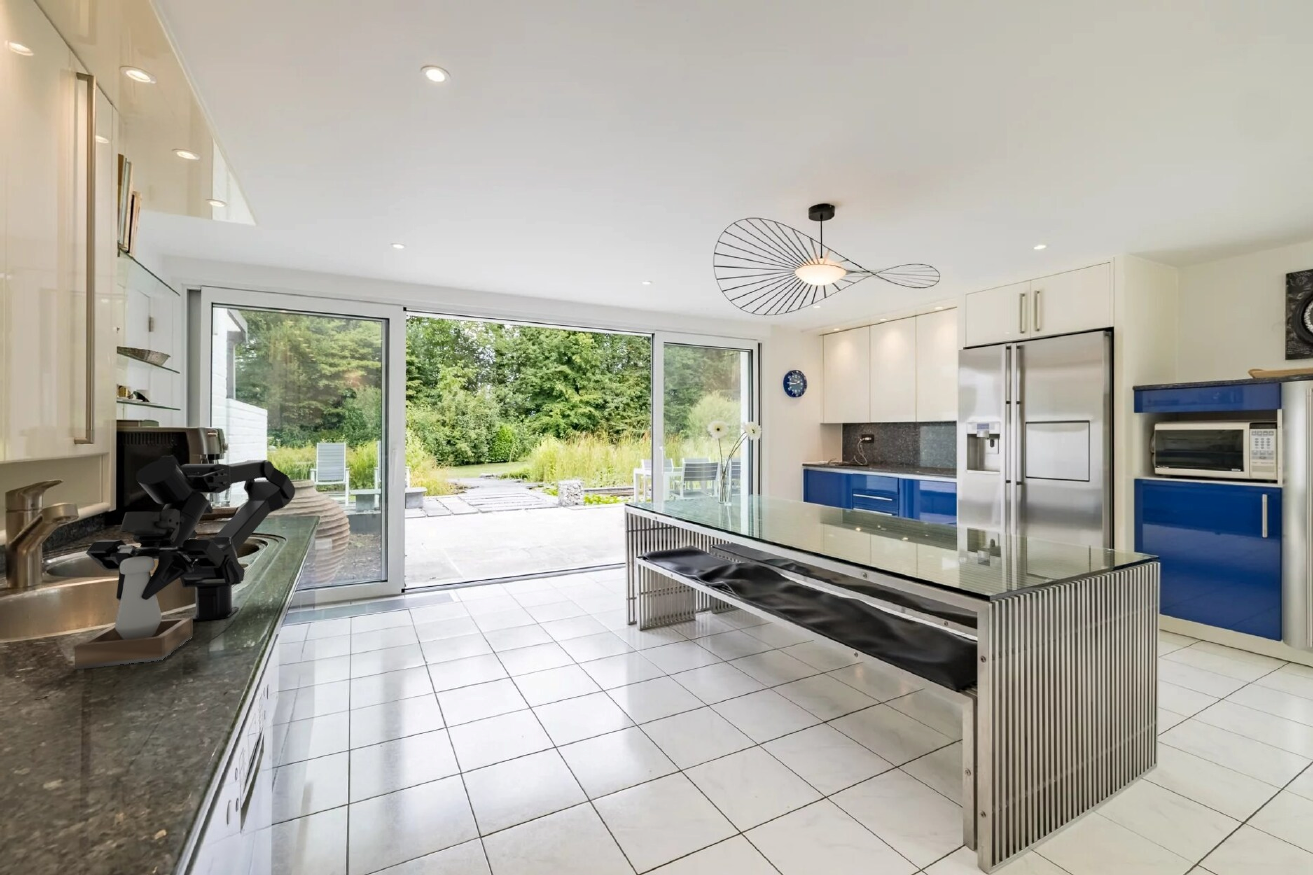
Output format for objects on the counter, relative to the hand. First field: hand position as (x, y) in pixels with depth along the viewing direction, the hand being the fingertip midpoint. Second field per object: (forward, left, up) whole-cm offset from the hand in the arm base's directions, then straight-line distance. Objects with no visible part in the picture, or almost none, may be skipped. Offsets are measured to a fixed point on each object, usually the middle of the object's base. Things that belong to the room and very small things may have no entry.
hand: (131, 599), depth 95 cm
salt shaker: (-1, 0, -7) cm, 7 cm away
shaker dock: (-1, 0, -9) cm, 9 cm away
